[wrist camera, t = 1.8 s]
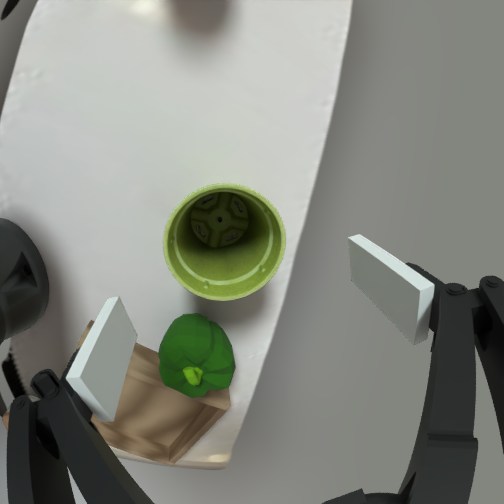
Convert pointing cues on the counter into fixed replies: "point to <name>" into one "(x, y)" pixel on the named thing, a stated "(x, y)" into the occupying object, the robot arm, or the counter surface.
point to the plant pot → (224, 242)
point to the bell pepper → (196, 356)
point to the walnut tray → (157, 412)
